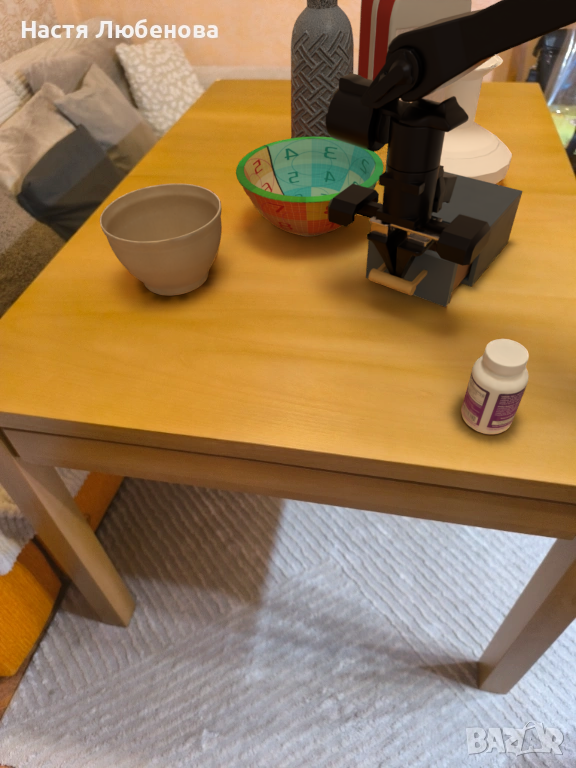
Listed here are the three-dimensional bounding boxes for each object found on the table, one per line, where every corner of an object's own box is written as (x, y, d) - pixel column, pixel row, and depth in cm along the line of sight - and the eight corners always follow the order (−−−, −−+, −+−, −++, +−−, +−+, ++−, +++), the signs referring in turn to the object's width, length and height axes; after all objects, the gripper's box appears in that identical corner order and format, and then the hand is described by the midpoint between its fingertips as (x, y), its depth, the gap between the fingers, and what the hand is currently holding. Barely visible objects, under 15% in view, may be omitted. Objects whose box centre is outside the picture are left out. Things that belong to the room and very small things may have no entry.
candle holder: (529, 185, 93) (566, 61, 79) (444, 219, 86) (467, 91, 72) (448, 148, 105) (468, 35, 91) (368, 175, 99) (376, 58, 85)
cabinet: (471, 286, 74) (485, 232, 68) (386, 257, 80) (392, 205, 74) (507, 243, 81) (522, 190, 75) (427, 219, 87) (435, 169, 81)
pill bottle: (512, 404, 59) (538, 339, 52) (510, 441, 55) (537, 376, 48) (462, 394, 60) (481, 329, 53) (456, 429, 56) (475, 364, 50)
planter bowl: (249, 259, 81) (241, 191, 73) (195, 322, 71) (179, 251, 63) (161, 240, 86) (145, 175, 78) (99, 296, 76) (73, 228, 68)
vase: (364, 154, 105) (375, -23, 85) (317, 172, 100) (316, -10, 80) (325, 136, 112) (326, -32, 92) (279, 153, 107) (270, -20, 87)
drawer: (428, 327, 67) (436, 284, 62) (346, 295, 72) (348, 253, 67) (483, 262, 76) (494, 220, 71) (407, 238, 81) (412, 197, 77)
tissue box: (420, 97, 125) (439, -49, 106) (454, 124, 113) (482, -35, 94) (354, 106, 123) (360, -41, 104) (381, 135, 111) (394, -25, 92)
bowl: (407, 232, 84) (415, 170, 77) (288, 280, 77) (285, 217, 69) (326, 181, 98) (327, 124, 90) (219, 217, 90) (210, 159, 83)
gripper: (525, 153, 57) (492, 274, 69) (376, 120, 66) (368, 233, 77) (484, 195, 51) (455, 319, 63) (325, 153, 60) (324, 270, 71)
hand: (397, 281), depth 68 cm, fingers closed, pressing on drawer
